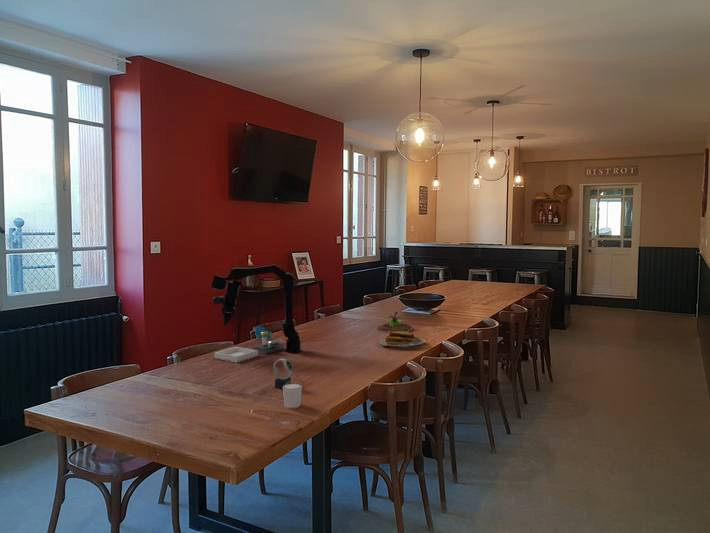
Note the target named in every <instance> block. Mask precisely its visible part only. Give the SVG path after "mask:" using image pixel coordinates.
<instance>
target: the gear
mask: <svg viewBox="0 0 710 533" xmlns="http://www.w3.org/2000/svg"><path fill="white" fill-rule="evenodd" d="M265 329H266V330H265ZM261 332H268V336H267V341H268V340H271V338H272V331H269V329H267V328H265V327H263V326H258V327H255V330H254V333H255V335H254V336H257V337H256V338H257V340H258V339H260V341H261V342H262V336H261Z"/></svg>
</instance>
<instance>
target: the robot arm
mask: <svg viewBox="0 0 710 533" xmlns="http://www.w3.org/2000/svg"><path fill="white" fill-rule="evenodd" d="M271 273H272V274H274V275H276V276H277V277H278V278H279V279H281V280H282V286H283V290H284V309H285V310H284V311H285V312H284V315H285V316H284V317H285V319H284V321H282V323H281V324H282V329H281V330H282V333H283V335H284V337H286V338H287V339H286V342H285V347H286V348H285V350H284V353H289V354H290V353H291V354H297V353H299V352H302V351H303V349H301V339H300V333H299V332H298V331H297V330H296V328H295V324H294V323H295V322H294V320H293V319H294V318H293V317H294V316H293V314H294V313H293V288H294V282H295V280H294V276H293V274H292V273H290V272H286V271H285V270H283V269H282V268H280V267H279V266H278V265H277V264H275V263H274V264H271V265H270V264H269V265H262V266H255V267H240V266H239V267H233V268H232V269H231V270H230V273H229V274H228V275H227V276H226V277H224V276H220V275H218V274H215V275H214V276H213V280H212V282H211V286H210V288H211V289H213V290H218V291H223V290H226V292H225V294H224V295H218V296H213V297H212V304H213V306H214V305H215V306H216V305H221V304H222V306H221V307H222V308H221V312H222V314H223V326H227V325H228V324H229V322H230V321H231V319H232V318H233V316H234V315H235V314H236V304H237V299H238V295H239V291H240V287H241V286H242V287H243V286H245V284H244V282H243V280H242V279H245V278H248V277H252V276H257V275H259V276H260V275H265V274H266V275H267V274H271ZM232 280H233V281H232Z"/></svg>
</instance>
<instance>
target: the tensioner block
mask: <svg viewBox="0 0 710 533" xmlns="http://www.w3.org/2000/svg"><path fill="white" fill-rule="evenodd" d="M284 348H285V346H284V343H283V342H280V340H277V339H270V340H269V341H268V340H267V347H262V343H261V344H258V345H254V346H253V348H252V349H253V350H258V354H259V353H261V354H260V355H265V354H266V355H269V354H271V353H275V352H279V351H281V350H284ZM268 353H269V354H268Z"/></svg>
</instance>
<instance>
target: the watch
mask: <svg viewBox="0 0 710 533" xmlns="http://www.w3.org/2000/svg"><path fill="white" fill-rule="evenodd" d="M279 361H282V363H283V368H284V370H285V371H286V372H287V373H288V376H282V375H281V372H279V370H278V366H277V364H278V362H279ZM272 371H273V373H274V376H275V377H276V379H274V388H275V389H282V390H283V386H284V385H287V384H292V377H291V376H292V374H293V372H294V365H293V363H292V361H291V360H289V359H288V358H279V359H277V360H275V362H274V363H273V367H272Z"/></svg>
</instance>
